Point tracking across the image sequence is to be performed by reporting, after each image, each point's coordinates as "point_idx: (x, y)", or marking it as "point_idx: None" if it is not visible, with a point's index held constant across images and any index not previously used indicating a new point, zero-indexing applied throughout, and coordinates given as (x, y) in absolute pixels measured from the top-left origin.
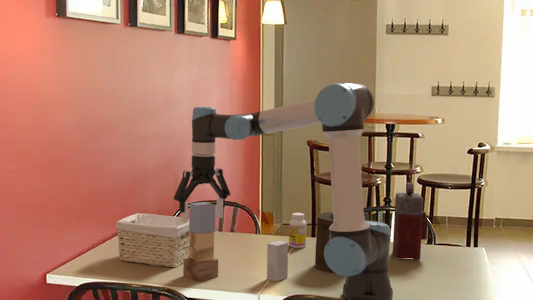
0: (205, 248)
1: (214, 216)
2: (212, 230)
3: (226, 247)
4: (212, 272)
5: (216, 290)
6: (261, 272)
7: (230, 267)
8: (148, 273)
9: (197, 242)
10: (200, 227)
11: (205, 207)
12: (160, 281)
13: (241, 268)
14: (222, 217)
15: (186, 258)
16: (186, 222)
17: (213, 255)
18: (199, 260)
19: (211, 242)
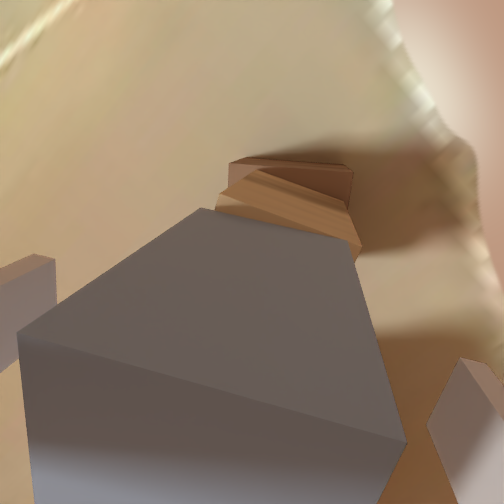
0: (295, 197)
1: (146, 252)
2: (217, 216)
3: (10, 366)
4: (271, 161)
5: (388, 13)
6: (74, 72)
7: (130, 209)
8: (390, 360)
9: (352, 226)
10: (339, 257)
11: (259, 373)
12: (439, 272)
13: (105, 171)
14: (33, 257)
15: None
16: (477, 362)
17: (252, 172)
18: (329, 196)
19: (253, 189)
